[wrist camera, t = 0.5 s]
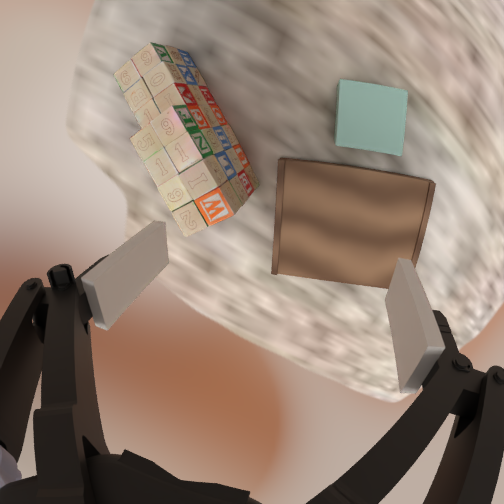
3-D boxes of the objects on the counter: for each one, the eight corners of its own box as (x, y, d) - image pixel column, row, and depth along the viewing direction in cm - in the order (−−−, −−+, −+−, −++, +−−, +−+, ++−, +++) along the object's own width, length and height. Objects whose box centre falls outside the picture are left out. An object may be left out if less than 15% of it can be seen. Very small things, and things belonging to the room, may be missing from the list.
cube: (337, 85, 30) (340, 78, 24) (393, 94, 29) (407, 90, 23) (334, 139, 34) (335, 145, 28) (388, 148, 32) (401, 156, 26)
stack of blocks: (153, 76, 35) (95, 72, 24) (188, 51, 32) (135, 36, 22) (222, 203, 41) (184, 239, 31) (261, 185, 39) (234, 216, 28)
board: (280, 157, 36) (278, 159, 35) (431, 180, 32) (435, 183, 31) (273, 267, 44) (271, 274, 42) (404, 285, 40) (407, 292, 38)
